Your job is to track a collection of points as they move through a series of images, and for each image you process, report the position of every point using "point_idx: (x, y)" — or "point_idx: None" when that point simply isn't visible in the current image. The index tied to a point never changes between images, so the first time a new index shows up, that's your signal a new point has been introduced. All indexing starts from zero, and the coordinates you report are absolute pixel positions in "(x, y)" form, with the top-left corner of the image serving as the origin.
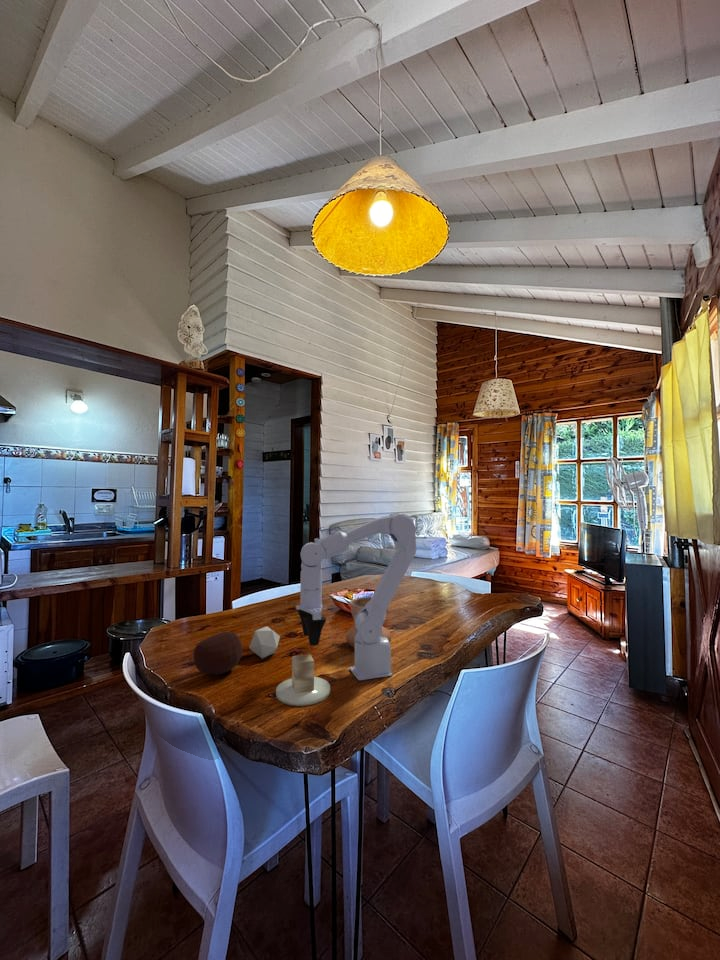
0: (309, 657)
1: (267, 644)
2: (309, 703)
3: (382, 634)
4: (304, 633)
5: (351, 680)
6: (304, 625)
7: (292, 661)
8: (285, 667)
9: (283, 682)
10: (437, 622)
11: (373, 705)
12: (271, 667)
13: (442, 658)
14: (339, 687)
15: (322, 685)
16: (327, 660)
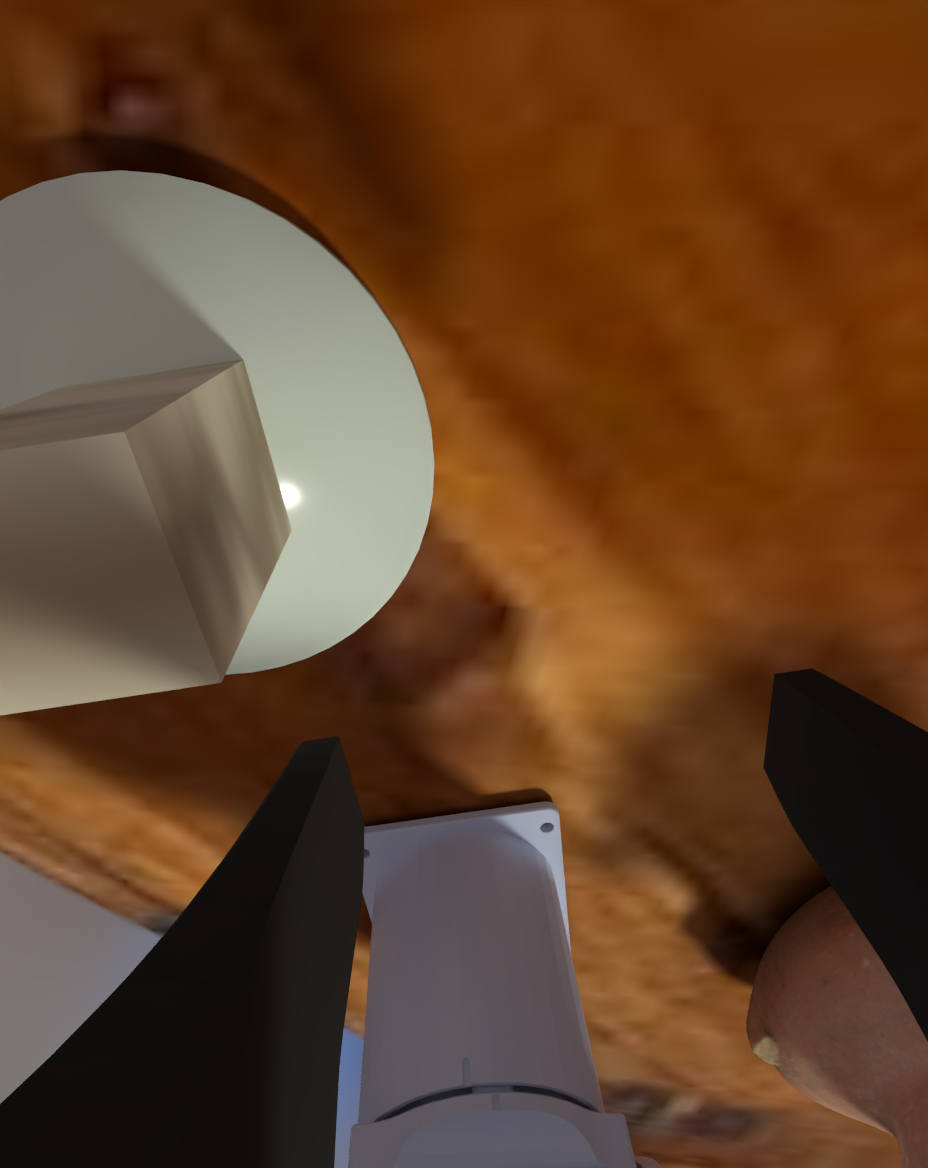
0: (87, 671)
1: None
2: None
3: (823, 1100)
4: (797, 701)
5: (372, 789)
6: (905, 810)
7: (127, 418)
8: (782, 294)
9: (316, 265)
10: None
11: (17, 857)
12: (853, 112)
13: None
14: (269, 715)
15: None
16: (773, 675)
